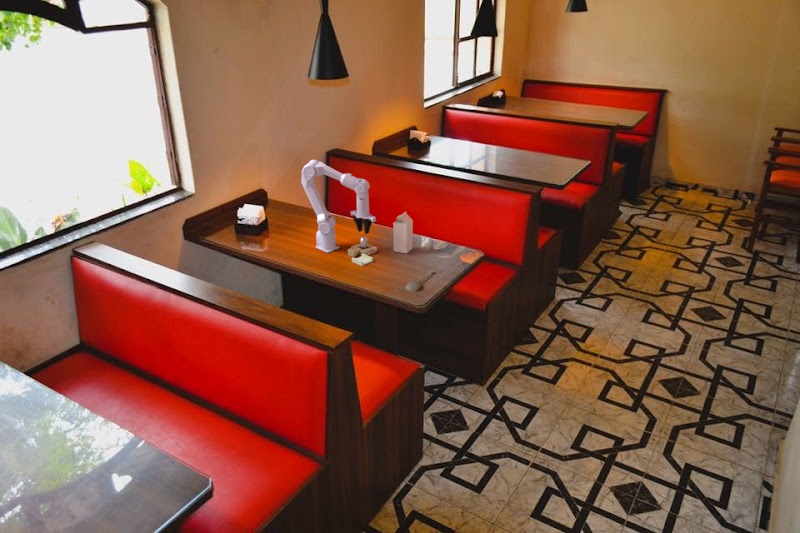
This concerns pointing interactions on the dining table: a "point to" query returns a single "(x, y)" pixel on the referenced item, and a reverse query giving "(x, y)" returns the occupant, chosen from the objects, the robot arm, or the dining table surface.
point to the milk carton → (403, 234)
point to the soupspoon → (416, 284)
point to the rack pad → (362, 260)
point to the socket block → (367, 251)
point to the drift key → (354, 252)
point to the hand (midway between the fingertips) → (363, 232)
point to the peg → (363, 243)
